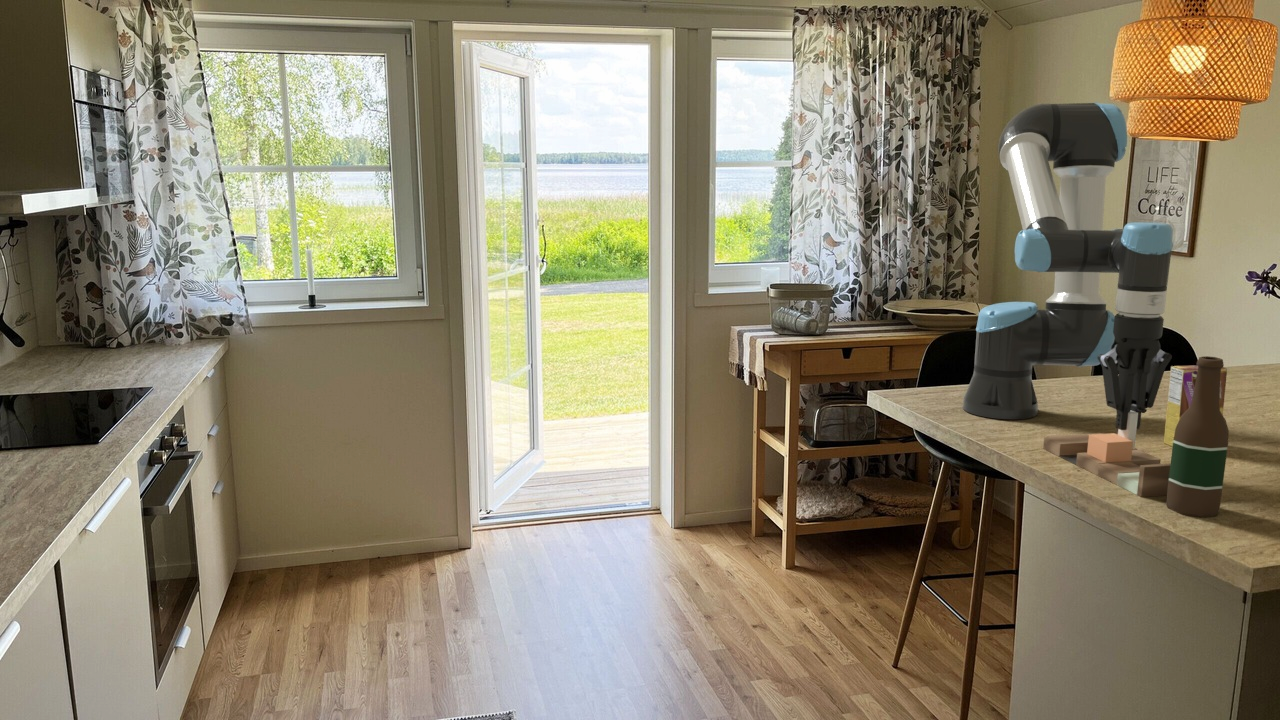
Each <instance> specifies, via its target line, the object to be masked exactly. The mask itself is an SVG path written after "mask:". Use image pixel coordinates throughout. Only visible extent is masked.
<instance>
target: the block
mask: <svg viewBox="0 0 1280 720" xmlns="http://www.w3.org/2000/svg"><path fill="white" fill-rule="evenodd" d="M1092 434H1093V435H1089V439H1088V449H1087V454H1089V455H1091V456H1093V457H1095V458H1097V459H1099V460H1102V461H1104V462H1117V461H1131V458H1132V448H1133V441H1132V440H1129V439H1127V438H1124V437H1122V436H1120V435H1118V433H1114V432H1111V433H1102V434H1096V433H1092Z"/></svg>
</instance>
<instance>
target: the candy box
mask: <svg viewBox="0 0 1280 720" xmlns="http://www.w3.org/2000/svg"><path fill="white" fill-rule="evenodd" d="M1197 371H1198V366H1197V365H1194V364H1193V365H1174V366H1173V365H1171V366H1170V373H1169V384H1168V385H1169V386H1168V395H1167V403H1166V404H1167V405H1166V416H1165V425H1164V435H1163V436H1164V437H1163V443H1164V444H1166V445H1167V446H1170V447H1171V448H1172V447H1173V439H1174V434H1175V429H1176V426H1177V424H1178V422H1179V420H1180V418H1181V416H1182V415H1183V414H1184V413H1185V412H1186V410H1187V409H1188V408H1189V407H1190V405H1191V402H1192V398H1193V392H1194V387H1195V382H1196V376H1197ZM1227 374H1228V368H1227V367H1224V366H1223V368H1221V377H1220V395H1219V405H1220V412H1221V413H1222V415H1223V416H1224V406H1225V405H1224V404H1225V395H1226V384H1227Z"/></svg>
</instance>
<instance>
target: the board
mask: <svg viewBox="0 0 1280 720" xmlns="http://www.w3.org/2000/svg"><path fill="white" fill-rule="evenodd" d="M1093 434H1094V433H1083V434H1082V433H1080V434H1063V435H1048V436H1047V435H1046V436H1044V437H1043V450H1045V451H1047V452H1049V453H1051V454H1052V455H1055V456H1057V457H1059V458H1061V459H1063V460H1065V461H1067V462H1069V463H1072V464H1073V465H1076V466H1077V467H1080V468H1082V469H1083V470H1086V471H1088V472H1090V473H1092V474H1094V475H1096V476H1098V477H1099V478H1101V479H1104V480H1106V481H1108V482H1110V481H1111V482H1110V483H1112V484H1114V485H1116V486H1118V487H1119V488H1122V489H1124V490H1126V491H1129V492H1130V493H1132V494H1134V495H1136V496H1139V498H1140V497H1141V498H1143V497H1144V498H1145V497H1146V496H1147V497H1158V496H1167V490H1168V482H1169V473H1170V464H1171V462H1170V463H1161V459H1160V458H1158V457H1157V456H1155V455H1152V454H1149V453H1147V452H1146V451H1145V452H1144V451H1142V450H1140V449H1138V448H1137V447H1135V448H1134V449H1132V458H1131V461H1117V462H1104V461H1102V460H1099V459H1097V458H1095V457H1093V456H1091V455H1089V454H1087V449H1088V439H1089V435H1093ZM1095 434H1103V433H1102V432H1101V433H1100V432H1099V433H1098V432H1097V433H1095ZM1147 497H1146V498H1147Z"/></svg>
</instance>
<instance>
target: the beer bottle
mask: <svg viewBox="0 0 1280 720" xmlns="http://www.w3.org/2000/svg"><path fill="white" fill-rule="evenodd" d="M1196 365H1197V366H1198V371H1197V376H1196V382H1195V387H1194V392H1193V398H1192V402H1191V405H1190V407H1189V408H1188V409H1187V410H1186V412H1185V413H1184V414H1183V415H1182V416H1181V418H1180V420H1179V422H1178V424H1177V426H1176V429H1175V434H1174V439H1173V447H1172V446H1171V457H1170V458H1171V459H1170V463H1171V464H1170V473H1169V482H1168V490H1167V495H1166V507H1167V509H1169V510H1171V511H1174V512H1175V511H1176V513H1177V514H1180V515H1183V516H1184V515H1185V516H1190V517H1191V516H1192V517H1197V518H1209V517H1217V516H1218V515H1219V512H1220V507H1221V503H1222V502H1221V500H1222V494H1223V486H1224V479H1225V478H1224V477H1225V471H1226V463H1227V456H1228V455H1227V454H1228V448H1229V447H1228V446H1229V431H1230V430H1229V427H1228V424H1227V420H1226V418H1225V417H1224V414H1223V415H1222V413H1221V412H1220V405H1219V395H1220V377H1221V368H1223V367H1224V360H1223V359H1222V358H1220V357H1216V356H1199V357H1198V359H1197V361H1196Z"/></svg>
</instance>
